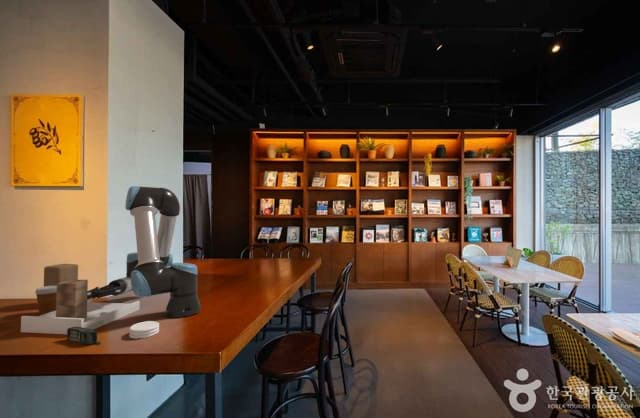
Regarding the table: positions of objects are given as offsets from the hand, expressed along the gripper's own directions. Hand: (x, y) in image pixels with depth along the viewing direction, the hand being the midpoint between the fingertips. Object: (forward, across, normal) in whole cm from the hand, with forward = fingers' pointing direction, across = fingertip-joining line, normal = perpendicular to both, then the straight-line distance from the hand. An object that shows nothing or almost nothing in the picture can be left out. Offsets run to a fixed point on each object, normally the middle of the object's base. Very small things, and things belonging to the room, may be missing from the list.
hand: (76, 299), depth 123 cm
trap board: (-5, 0, -10) cm, 11 cm away
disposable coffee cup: (-10, +25, -10) cm, 29 cm away
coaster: (+7, -36, -10) cm, 38 cm away
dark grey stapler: (+16, -20, -10) cm, 27 cm away
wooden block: (-23, +33, -10) cm, 41 cm away
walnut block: (+4, -2, -8) cm, 9 cm away
